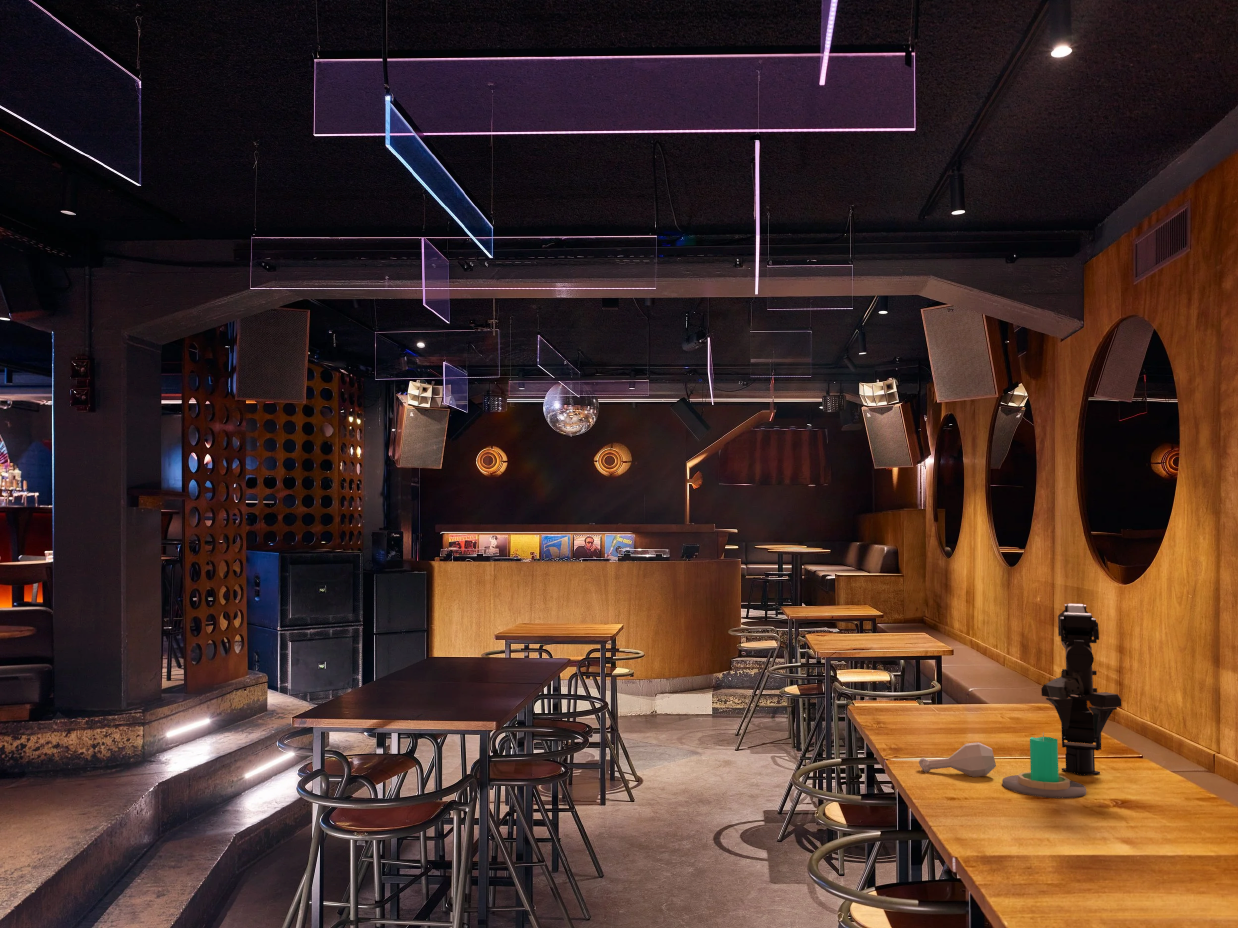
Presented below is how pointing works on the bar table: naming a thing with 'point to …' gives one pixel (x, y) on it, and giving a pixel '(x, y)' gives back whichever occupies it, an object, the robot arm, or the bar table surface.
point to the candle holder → (1044, 787)
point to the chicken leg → (965, 760)
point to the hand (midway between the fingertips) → (1081, 732)
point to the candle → (1044, 759)
